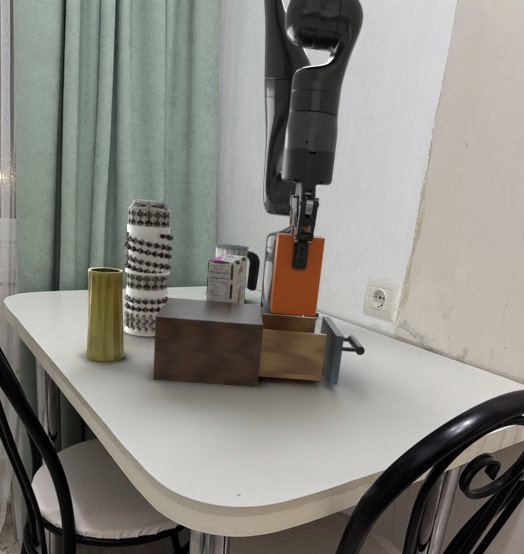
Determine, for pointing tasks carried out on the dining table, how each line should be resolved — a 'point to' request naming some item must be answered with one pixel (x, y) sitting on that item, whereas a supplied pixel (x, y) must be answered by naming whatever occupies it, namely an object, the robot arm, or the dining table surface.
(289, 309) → the orange rectangular prism
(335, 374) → the drawer
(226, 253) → the milk frother
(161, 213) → the white patterned cylinder
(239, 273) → the candy bar box
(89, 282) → the vase
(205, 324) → the cabinet
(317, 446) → the dining table surface
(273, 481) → the dining table surface
